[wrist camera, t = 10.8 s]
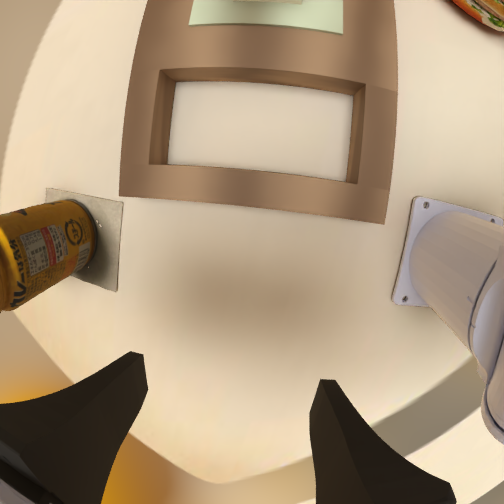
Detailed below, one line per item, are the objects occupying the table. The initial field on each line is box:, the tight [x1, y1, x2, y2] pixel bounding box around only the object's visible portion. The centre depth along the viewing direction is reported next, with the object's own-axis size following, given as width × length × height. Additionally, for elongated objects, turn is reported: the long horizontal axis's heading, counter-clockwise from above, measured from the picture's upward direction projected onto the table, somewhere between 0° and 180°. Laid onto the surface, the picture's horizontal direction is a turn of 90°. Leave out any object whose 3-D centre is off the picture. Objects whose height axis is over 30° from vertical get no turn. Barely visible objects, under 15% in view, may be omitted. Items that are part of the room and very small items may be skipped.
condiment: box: [0, 188, 123, 313], centre depth 15 cm, size 7×8×12 cm
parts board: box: [119, 0, 398, 225], centre depth 15 cm, size 16×20×3 cm
